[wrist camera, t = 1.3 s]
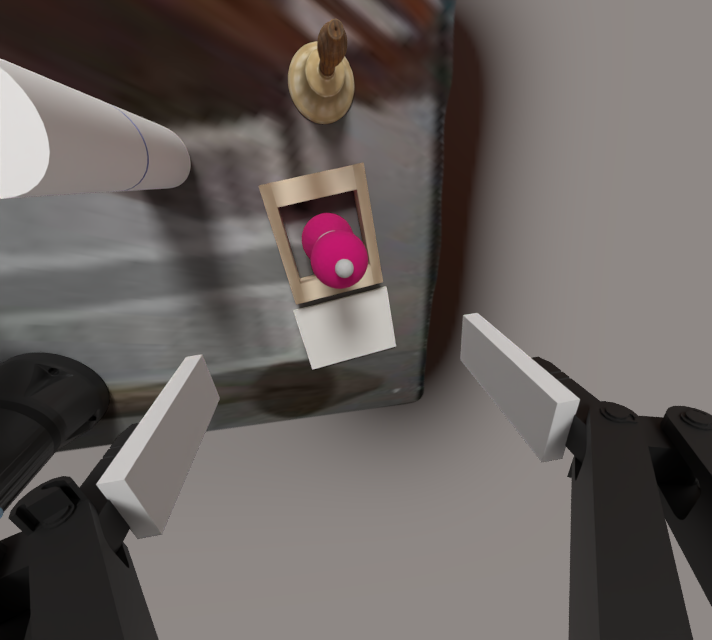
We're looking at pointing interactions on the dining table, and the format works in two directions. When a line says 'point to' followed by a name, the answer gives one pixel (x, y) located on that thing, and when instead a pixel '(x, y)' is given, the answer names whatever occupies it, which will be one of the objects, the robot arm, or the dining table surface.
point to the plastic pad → (346, 327)
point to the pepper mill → (334, 251)
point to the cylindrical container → (78, 142)
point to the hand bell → (322, 76)
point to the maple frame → (313, 189)
